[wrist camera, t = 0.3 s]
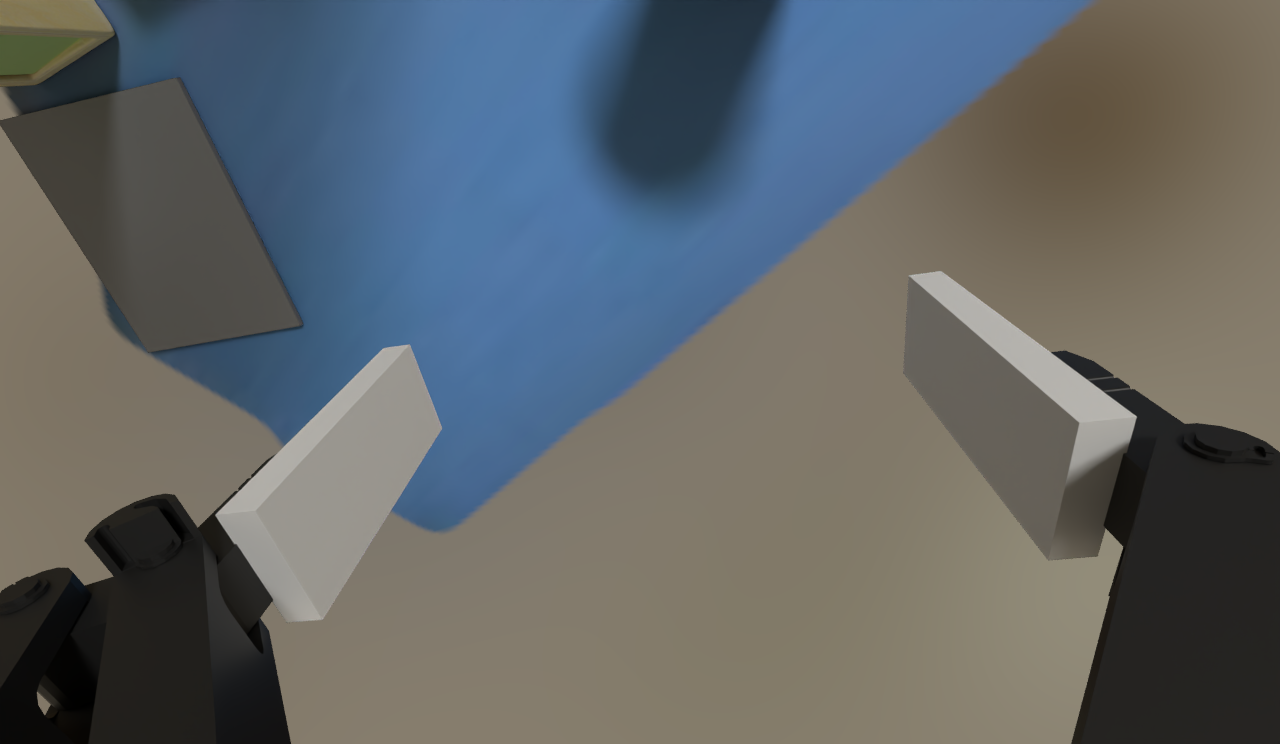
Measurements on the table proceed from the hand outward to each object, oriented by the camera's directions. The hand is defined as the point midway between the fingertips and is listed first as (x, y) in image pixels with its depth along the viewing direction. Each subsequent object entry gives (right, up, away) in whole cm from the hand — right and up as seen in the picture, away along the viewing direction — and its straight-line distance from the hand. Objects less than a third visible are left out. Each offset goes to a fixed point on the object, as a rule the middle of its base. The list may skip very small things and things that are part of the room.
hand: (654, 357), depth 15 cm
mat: (-36, +10, +28) cm, 47 cm away
